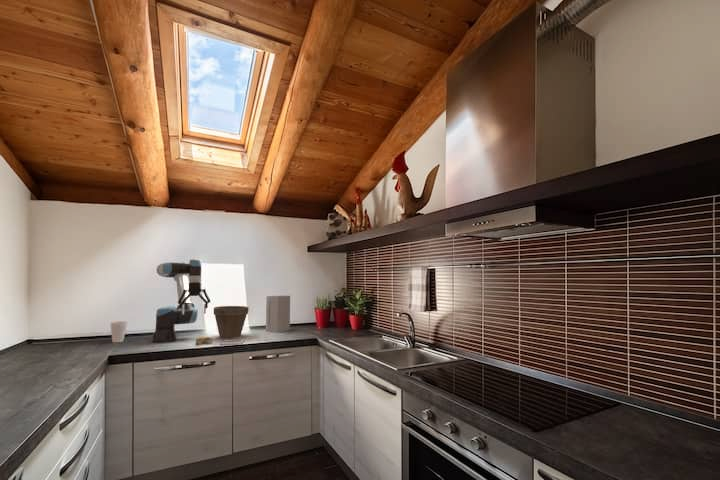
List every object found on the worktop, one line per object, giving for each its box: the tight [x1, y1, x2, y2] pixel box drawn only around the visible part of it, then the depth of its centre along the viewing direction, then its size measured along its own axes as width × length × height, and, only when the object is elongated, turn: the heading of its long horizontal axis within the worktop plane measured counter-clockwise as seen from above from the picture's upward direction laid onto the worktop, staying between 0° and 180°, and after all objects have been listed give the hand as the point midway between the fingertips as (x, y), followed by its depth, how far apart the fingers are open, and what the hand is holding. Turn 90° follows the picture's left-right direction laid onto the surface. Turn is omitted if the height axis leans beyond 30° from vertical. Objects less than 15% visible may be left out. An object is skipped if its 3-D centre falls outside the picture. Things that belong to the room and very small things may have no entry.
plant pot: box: [213, 305, 249, 339], centre depth 274 cm, size 25×25×22 cm
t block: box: [195, 336, 214, 346], centre depth 246 cm, size 9×8×4 cm
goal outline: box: [219, 339, 246, 346], centre depth 248 cm, size 14×13×1 cm
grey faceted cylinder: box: [265, 295, 291, 334], centre depth 299 cm, size 19×15×28 cm
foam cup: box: [110, 320, 128, 343], centre depth 254 cm, size 10×9×13 cm
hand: (194, 313), depth 246 cm, fingers open, 13 cm apart
